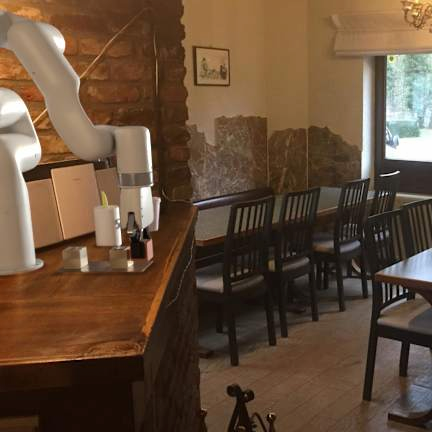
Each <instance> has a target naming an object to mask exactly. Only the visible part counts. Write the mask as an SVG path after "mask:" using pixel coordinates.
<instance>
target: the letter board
mask: <svg viewBox="0 0 432 432" xmlns="http://www.w3.org/2000/svg"><path fill="white" fill-rule="evenodd" d="M153 262H154V260H149V261H133V264H132V265H131V266H130V267H129V268H120V269H111V266H110V260H108V261H107V260H106V261H105V260H104V261H103V260H99V261H97V260H95V261H89V260H88V264H87V265H86V266H85V267H83V268H82V269H64V266H63V267H61V268H60V269H58V270H57V271H56V273H136V272H137V273H138V272H139V273H142V272H144V271H146V269H147V268H148V267H149V266H150V265H151V264H152V263H153Z"/></svg>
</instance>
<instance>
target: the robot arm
mask: <svg viewBox="0 0 432 432" xmlns="http://www.w3.org/2000/svg"><path fill="white" fill-rule="evenodd" d="M0 48H2V49H6V50H8V51H12V52H13V54H14V55H15V57H16V58H17V60H18V61H19V62H20V64H21V65H22V67H23V68H24V69H25V71H26V72H27V74H28V75H29V77H30V78H31V80H32V81H33V83H34V84H35V86H36V87H37V88H38V90H39V92H40V93H41V95H42V96H43V99H44V104H45V108H46V110H47V114H48V117H49V119H50V122H51V124H52V126H53V128H54V129H55V131H56V132H57V134H58V136H59V137H60V138H61V140H62V142H64V144H65V145H66V147H67V149H69V151H70V152H71V153H72V154H73V155H74V156H75V157H77V158H79V160H83V161H87V162H93V161H98V160H101V159H105V158H109V157H115V156H116V167H117V178H118V188H119V189H120V195H119V196H120V197H119V217H120V229H121V230H122V231H126V230H127V231H126V234H127V236H128V237H129V239H128V240H129V246H130V249H131V258H132V259H144V258H146V252H145V242H143V239H152V237H151V236H152V234H151V233H152V231H150V224H151V223H152V222H153V202H152V197H153V196H152V188H151V187H153V186H154V173H153V161H152V159H153V157H152V147H151V146H152V145H151V134H150V133H151V132H150V129H148V128H147V127H146V126H143V125H125V126H115V125H110V124H97V125H95V124H93V122H92V121H91V119H90V118H89V117H88V115H87V114H86V111H85V110H84V108H83V106H82V104H81V102H80V97H79V89H80V84H81V80H80V77H79V75H78V74H77V72H76V71H75V70H74V68H73V66H72V65H71V64H70V63H69V61H68V59H67V58H66V56H65V55H64V52H65V49H66V41H65V38H64V35H63V34H62V33H61V32H60V30H59V29H58V28H56V27H55V26H53V25H52V24H50V23H46V22H43V21H38V20H35V19H32V18H29V17H26V16H23V15H20V14H17V13H14V12H12V11H11V12H10V11H7V10H6V9H5V10H4V9H1V8H0ZM41 159H42V147H41V144H40V140H39V137H38V135H37V132H36V128H35V126H34V124H33V121H32V118H31V115H30V112H29V110H28V107H27V105H26V104H25V102H24V100H23V99H22V98H21V96H20V95H19V94H17V92H16V91H14V90H12V89H9V88H7V87H0V276H8V275H18V274H25V273H28V272H32V271H36V270H38V269H40V268H42V267H43V266H44V260H42V259H41V258H38V257H37V258H36V251H35V240H34V231H33V221H32V212H31V205H30V204H31V203H30V196H29V190H28V186H27V183H26V181H25V178H24V176H23V173H25V172H28V171H30V170H32V169H35V167H36V166H38V164H39V163H40V161H41Z"/></svg>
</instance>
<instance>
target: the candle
mask: <svg viewBox="0 0 432 432" xmlns="http://www.w3.org/2000/svg"><path fill="white" fill-rule="evenodd" d="M101 200H102V201H101V202H102V205H98V206H94V207H92V208H93V222H94V231H95V232H94V233H95V244H96V247H115V246H121V245H122V234H121V230H122V229H121V216H120V205H116V204H110V205H109V203H108V198H107V195H106V193H105V191H104V190H101Z"/></svg>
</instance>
